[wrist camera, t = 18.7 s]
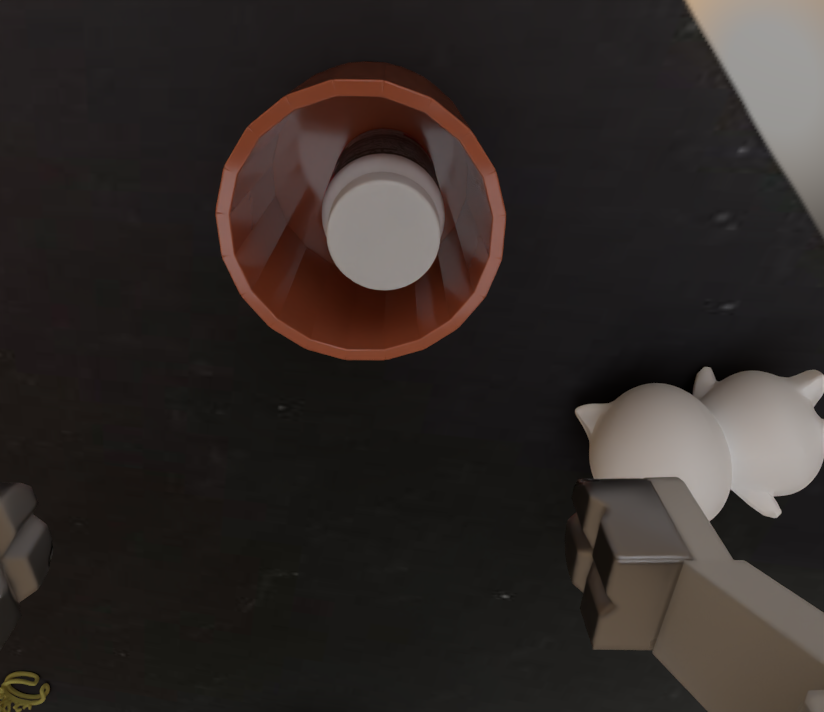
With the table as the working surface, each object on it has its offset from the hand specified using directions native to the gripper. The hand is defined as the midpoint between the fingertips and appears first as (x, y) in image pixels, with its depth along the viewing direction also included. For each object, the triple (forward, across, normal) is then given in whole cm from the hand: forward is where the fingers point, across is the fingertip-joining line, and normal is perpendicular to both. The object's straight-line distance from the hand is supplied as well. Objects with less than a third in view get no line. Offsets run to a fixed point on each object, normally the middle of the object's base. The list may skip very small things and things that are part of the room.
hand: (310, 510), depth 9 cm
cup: (+22, 0, 0) cm, 23 cm away
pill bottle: (+22, -1, 0) cm, 22 cm away
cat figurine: (+22, -18, +14) cm, 32 cm away
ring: (+22, +28, +40) cm, 54 cm away
